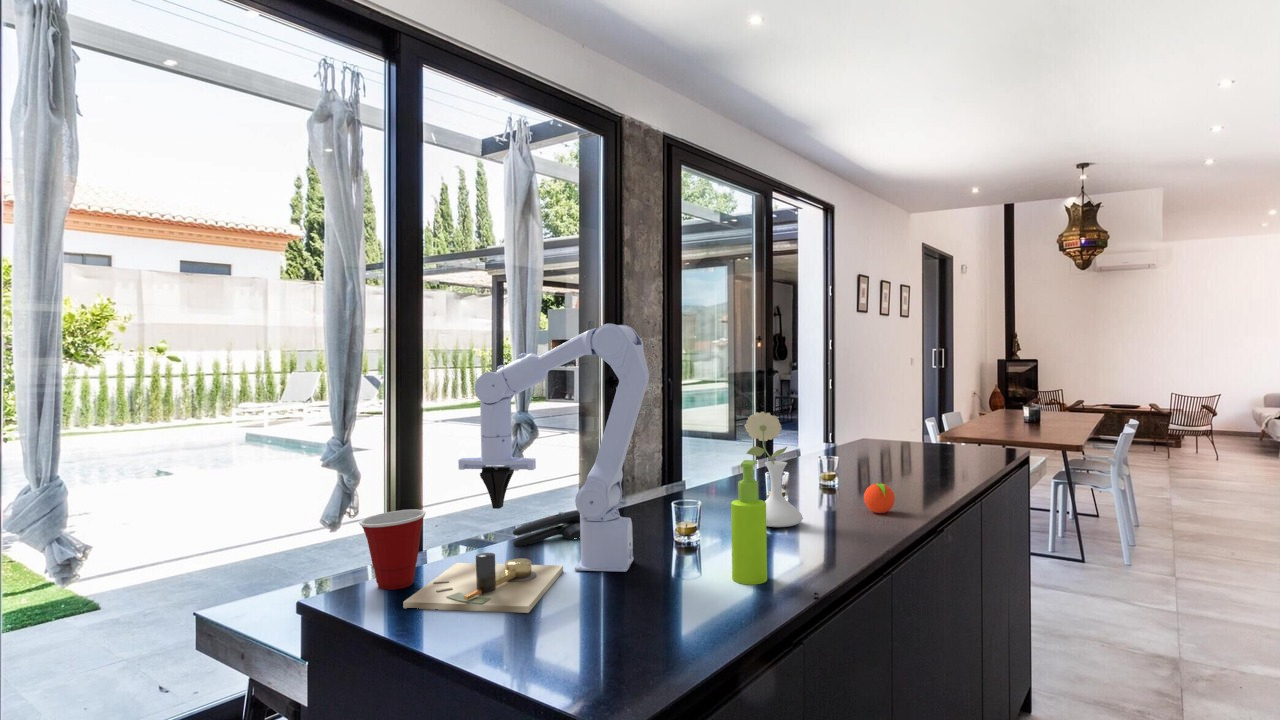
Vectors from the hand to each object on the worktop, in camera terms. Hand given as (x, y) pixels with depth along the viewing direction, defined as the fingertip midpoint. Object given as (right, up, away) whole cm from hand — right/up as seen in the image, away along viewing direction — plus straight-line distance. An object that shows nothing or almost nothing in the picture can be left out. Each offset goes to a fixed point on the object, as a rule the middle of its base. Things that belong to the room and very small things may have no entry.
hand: (497, 507), depth 141 cm
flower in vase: (+56, -9, +24) cm, 62 cm away
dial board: (+2, -10, -17) cm, 20 cm away
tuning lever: (+4, -9, -19) cm, 21 cm away
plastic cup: (-15, -11, -14) cm, 23 cm away
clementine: (+83, -8, +33) cm, 90 cm away
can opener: (+8, -10, +15) cm, 20 cm away
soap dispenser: (+46, -10, -14) cm, 49 cm away
